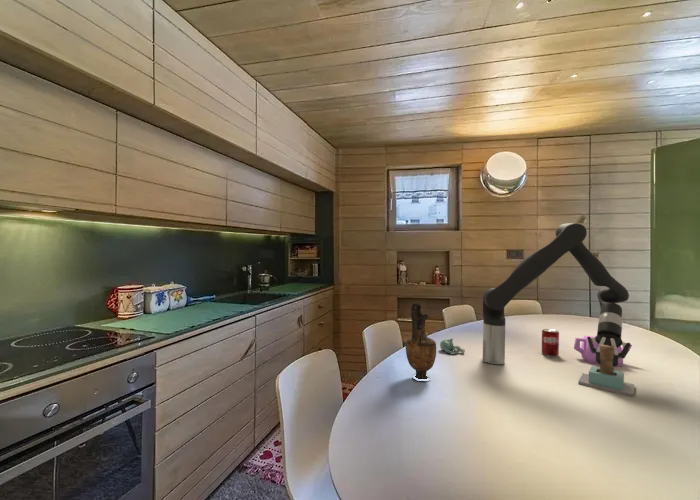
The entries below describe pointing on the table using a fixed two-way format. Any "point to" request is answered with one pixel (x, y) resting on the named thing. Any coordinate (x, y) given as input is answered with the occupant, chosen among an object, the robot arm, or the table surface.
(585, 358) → the teakettle
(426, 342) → the vase
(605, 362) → the block
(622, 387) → the teal and grey socket
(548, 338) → the soda can
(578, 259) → the robot arm
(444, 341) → the stuffed animal
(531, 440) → the table surface
